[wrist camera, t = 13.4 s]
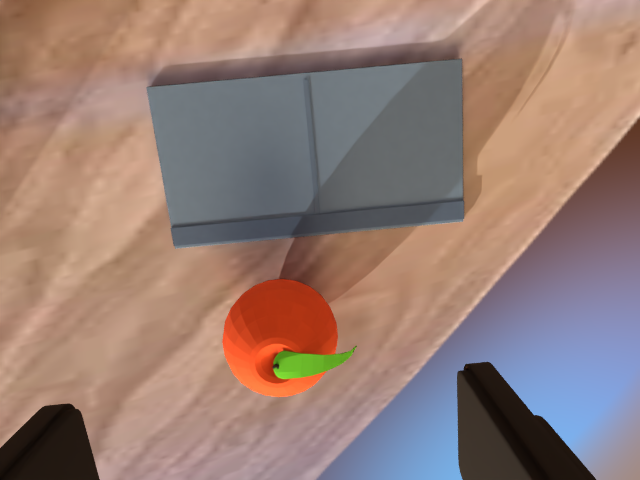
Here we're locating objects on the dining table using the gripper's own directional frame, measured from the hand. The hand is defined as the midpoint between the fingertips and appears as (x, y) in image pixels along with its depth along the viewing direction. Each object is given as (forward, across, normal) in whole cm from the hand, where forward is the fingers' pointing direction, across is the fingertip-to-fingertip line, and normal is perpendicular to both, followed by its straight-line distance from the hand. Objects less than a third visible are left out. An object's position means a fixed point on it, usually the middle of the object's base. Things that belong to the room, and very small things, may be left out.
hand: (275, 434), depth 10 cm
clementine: (+18, +1, +4) cm, 18 cm away
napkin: (+18, -2, -6) cm, 19 cm away
